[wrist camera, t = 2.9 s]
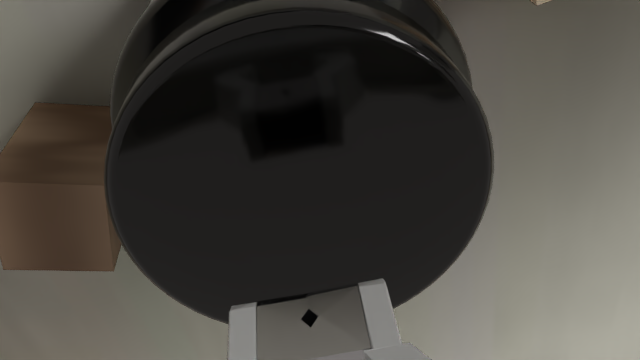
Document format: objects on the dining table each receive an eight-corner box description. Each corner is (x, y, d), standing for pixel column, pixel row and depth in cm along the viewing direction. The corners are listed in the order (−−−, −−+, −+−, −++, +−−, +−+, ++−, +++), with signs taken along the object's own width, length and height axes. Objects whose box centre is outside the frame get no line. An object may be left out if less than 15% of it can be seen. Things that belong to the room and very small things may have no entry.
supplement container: (406, 132, 28) (492, 329, 18) (178, 153, 27) (135, 368, 17) (415, -120, 22) (552, -35, 12) (124, -99, 21) (9, 8, 11)
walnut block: (132, 107, 26) (103, 185, 21) (138, 183, 28) (113, 271, 23) (35, 102, 25) (-19, 181, 20) (48, 180, 27) (3, 269, 22)
